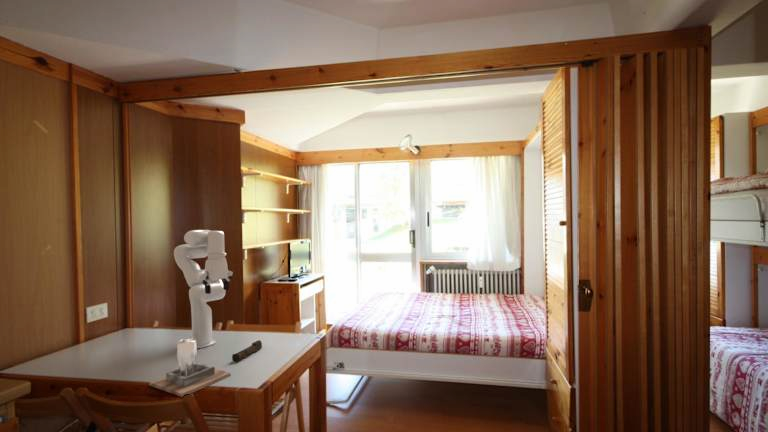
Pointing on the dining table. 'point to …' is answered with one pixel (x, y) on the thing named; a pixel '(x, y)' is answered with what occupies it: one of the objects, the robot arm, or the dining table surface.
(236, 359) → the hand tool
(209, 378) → the glass dock
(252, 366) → the dining table surface
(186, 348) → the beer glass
